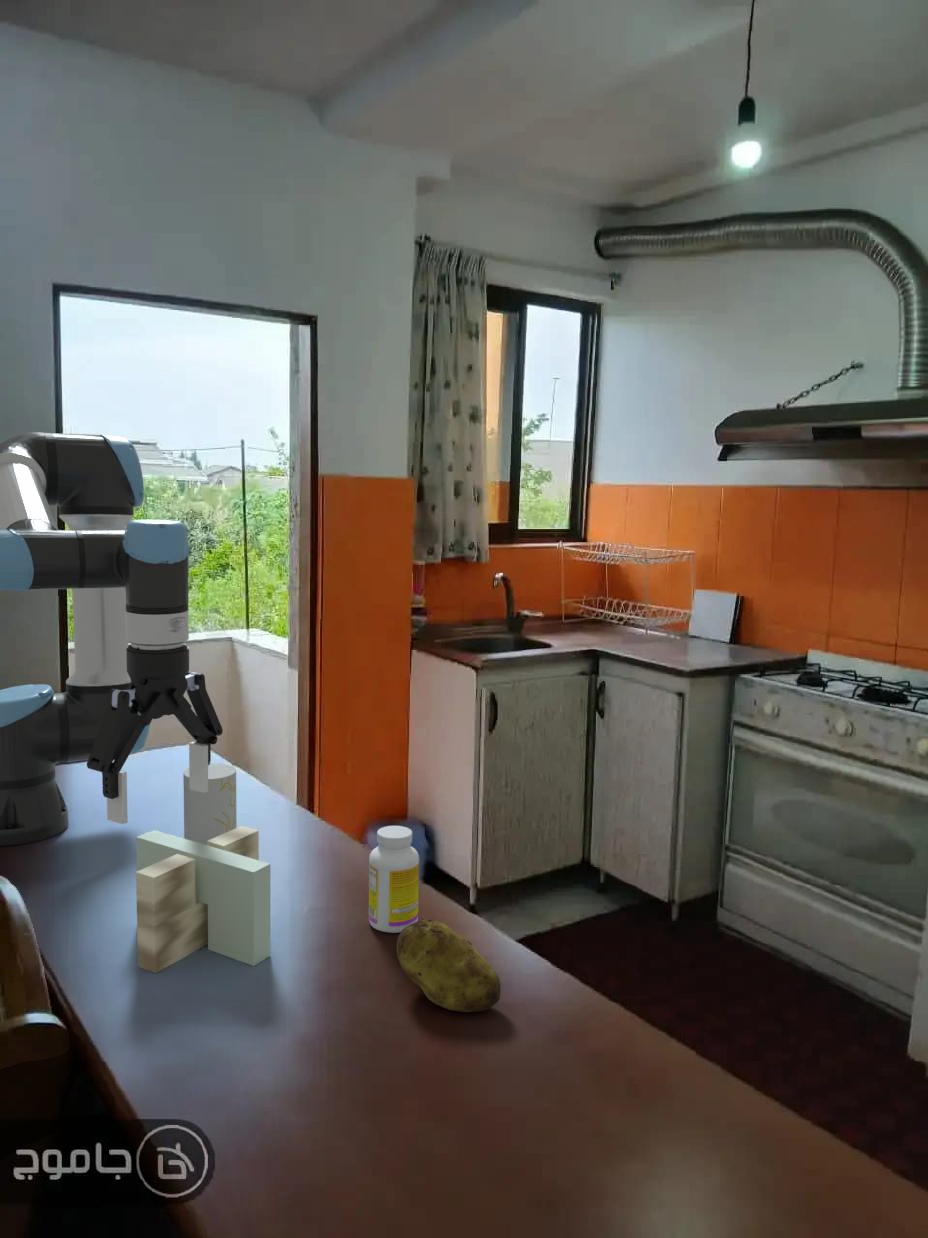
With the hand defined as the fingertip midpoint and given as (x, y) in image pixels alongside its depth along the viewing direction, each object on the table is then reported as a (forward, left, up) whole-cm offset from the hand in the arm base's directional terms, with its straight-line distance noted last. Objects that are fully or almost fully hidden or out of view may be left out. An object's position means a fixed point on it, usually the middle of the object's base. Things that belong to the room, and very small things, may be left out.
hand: (160, 805), depth 121 cm
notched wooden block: (+7, 0, -16) cm, 18 cm away
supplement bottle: (+25, +17, -17) cm, 35 cm away
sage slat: (+7, 0, -16) cm, 18 cm away
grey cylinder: (-15, +24, -17) cm, 33 cm away
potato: (+40, +5, -17) cm, 44 cm away
